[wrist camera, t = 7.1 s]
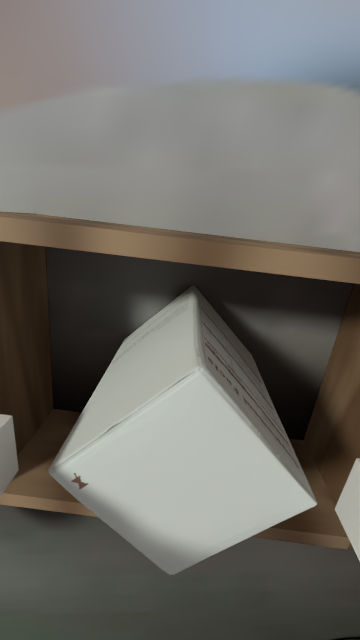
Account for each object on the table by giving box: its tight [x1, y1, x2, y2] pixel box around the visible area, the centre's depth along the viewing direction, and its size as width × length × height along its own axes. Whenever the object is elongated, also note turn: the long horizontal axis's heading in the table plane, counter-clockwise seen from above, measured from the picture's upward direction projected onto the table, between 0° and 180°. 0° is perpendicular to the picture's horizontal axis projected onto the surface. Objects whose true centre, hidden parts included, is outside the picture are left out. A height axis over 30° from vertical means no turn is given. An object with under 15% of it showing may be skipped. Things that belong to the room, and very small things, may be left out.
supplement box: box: [48, 286, 317, 575], centre depth 16 cm, size 7×7×13 cm
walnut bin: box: [0, 212, 360, 550], centre depth 18 cm, size 24×17×8 cm
